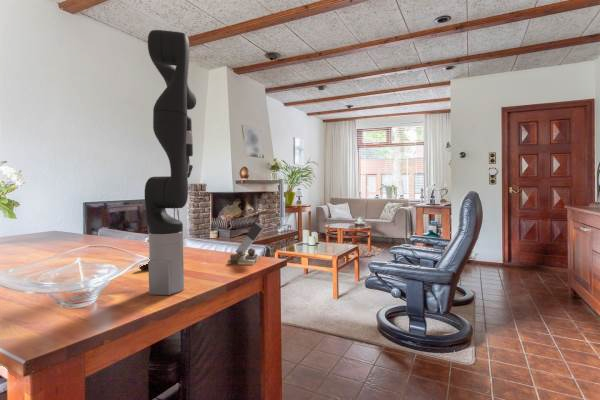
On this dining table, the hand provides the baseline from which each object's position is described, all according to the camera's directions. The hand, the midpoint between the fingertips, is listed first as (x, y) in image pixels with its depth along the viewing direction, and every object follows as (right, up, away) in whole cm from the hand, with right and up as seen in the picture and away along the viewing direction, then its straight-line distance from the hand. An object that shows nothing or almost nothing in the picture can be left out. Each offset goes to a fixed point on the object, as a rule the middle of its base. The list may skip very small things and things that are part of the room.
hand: (183, 188), depth 132 cm
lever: (+20, -26, +5) cm, 33 cm away
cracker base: (+23, -29, +5) cm, 37 cm away
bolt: (-7, -30, -4) cm, 31 cm away
